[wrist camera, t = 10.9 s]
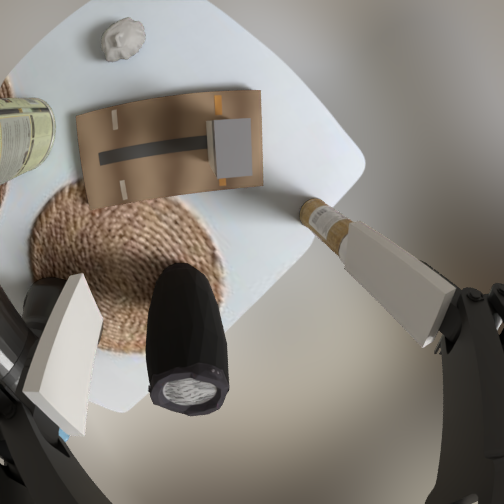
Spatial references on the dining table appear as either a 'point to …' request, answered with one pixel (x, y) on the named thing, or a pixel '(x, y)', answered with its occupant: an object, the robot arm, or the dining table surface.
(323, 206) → the sprinkles bottle
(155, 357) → the portable speaker
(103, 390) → the dining table surface
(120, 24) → the garlic
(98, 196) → the fader board
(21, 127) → the coffee can
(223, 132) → the fader knob
